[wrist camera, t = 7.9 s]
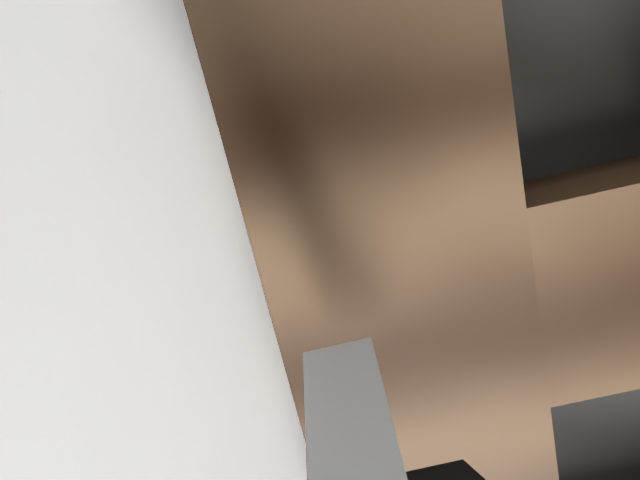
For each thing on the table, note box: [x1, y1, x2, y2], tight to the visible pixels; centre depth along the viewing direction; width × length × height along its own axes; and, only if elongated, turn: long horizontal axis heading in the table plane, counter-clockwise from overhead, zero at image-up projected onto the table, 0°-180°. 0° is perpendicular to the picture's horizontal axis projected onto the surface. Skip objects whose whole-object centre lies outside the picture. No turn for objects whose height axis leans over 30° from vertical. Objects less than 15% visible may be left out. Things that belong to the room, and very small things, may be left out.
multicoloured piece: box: [183, 0, 640, 480], centre depth 17 cm, size 20×19×4 cm
